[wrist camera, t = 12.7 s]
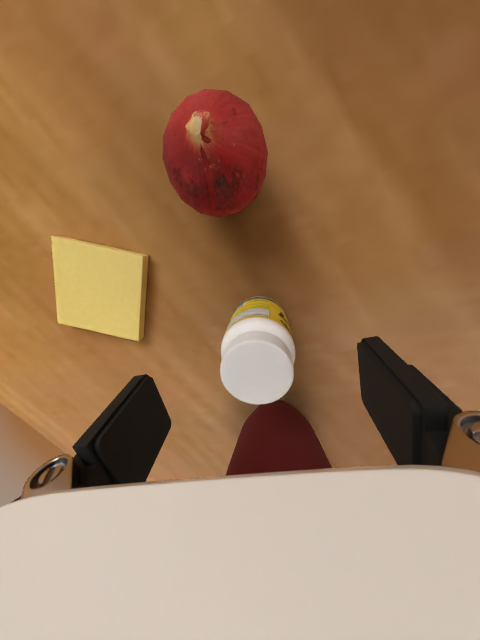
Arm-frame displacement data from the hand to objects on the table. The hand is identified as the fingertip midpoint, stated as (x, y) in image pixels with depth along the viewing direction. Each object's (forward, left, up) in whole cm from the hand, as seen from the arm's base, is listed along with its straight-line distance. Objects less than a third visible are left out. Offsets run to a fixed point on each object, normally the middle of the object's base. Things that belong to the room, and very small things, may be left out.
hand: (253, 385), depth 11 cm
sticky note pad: (-13, -6, -10) cm, 17 cm away
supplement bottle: (0, -1, -11) cm, 11 cm away
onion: (-8, +7, -11) cm, 15 cm away
